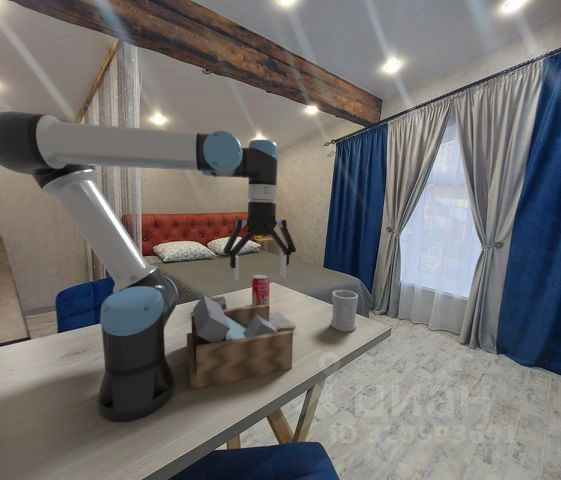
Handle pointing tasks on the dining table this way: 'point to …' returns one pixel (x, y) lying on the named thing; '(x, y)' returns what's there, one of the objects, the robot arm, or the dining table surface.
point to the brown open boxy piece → (238, 352)
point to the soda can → (260, 290)
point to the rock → (220, 301)
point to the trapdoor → (215, 322)
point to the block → (259, 327)
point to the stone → (281, 322)
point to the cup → (344, 310)
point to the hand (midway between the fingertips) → (260, 278)
